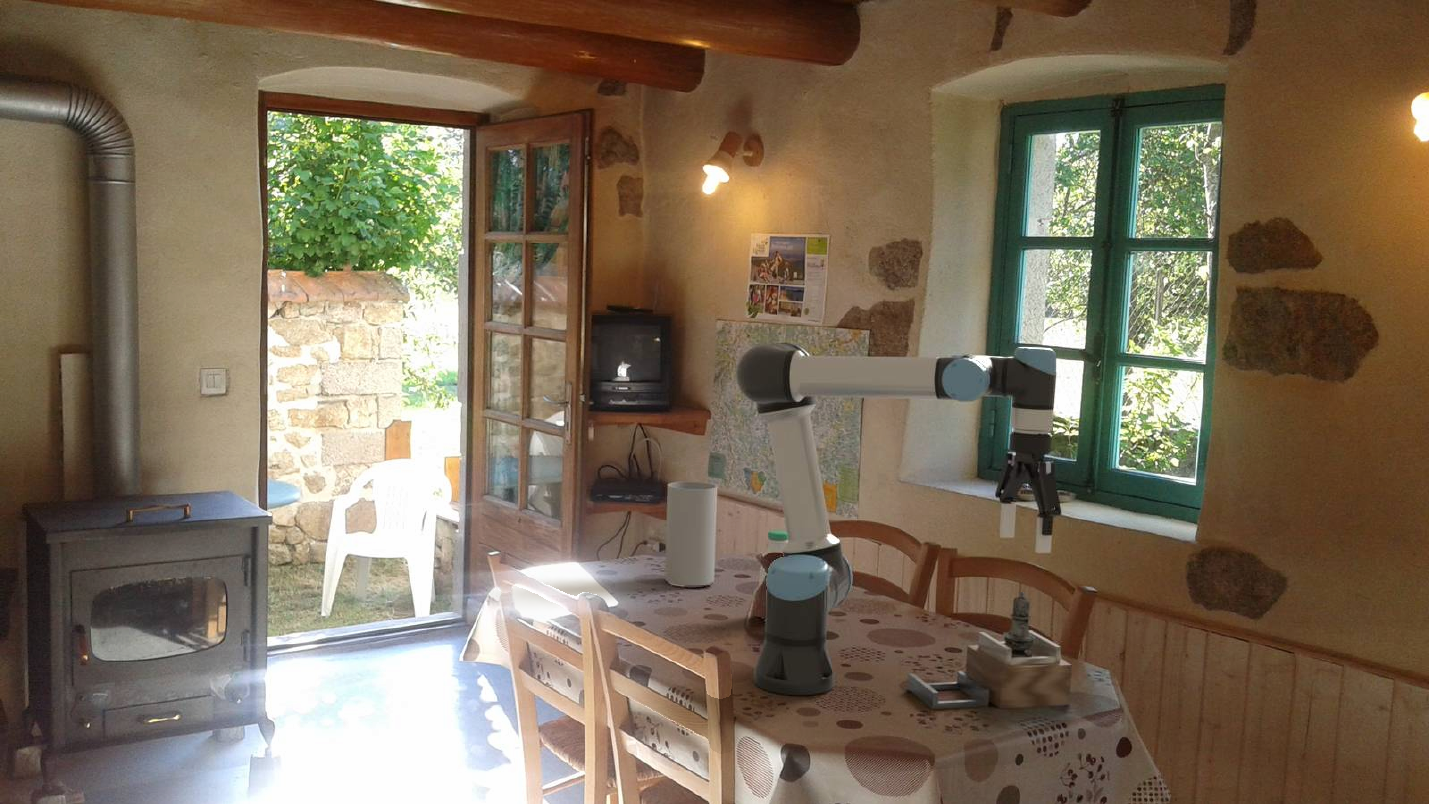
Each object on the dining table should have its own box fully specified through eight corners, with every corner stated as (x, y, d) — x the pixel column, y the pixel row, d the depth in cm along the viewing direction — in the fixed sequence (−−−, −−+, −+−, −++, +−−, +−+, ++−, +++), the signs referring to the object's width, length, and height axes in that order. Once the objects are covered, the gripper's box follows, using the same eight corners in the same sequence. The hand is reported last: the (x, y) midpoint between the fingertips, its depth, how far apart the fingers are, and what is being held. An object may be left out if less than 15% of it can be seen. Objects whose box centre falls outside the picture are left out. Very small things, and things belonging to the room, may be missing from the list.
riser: (999, 708, 216) (1003, 651, 215) (965, 683, 229) (968, 630, 228) (1069, 704, 219) (1072, 648, 218) (1031, 680, 233) (1034, 627, 232)
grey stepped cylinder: (1034, 660, 220) (1039, 597, 219) (1002, 657, 221) (1006, 594, 220) (1033, 652, 226) (1037, 589, 225) (1001, 648, 227) (1005, 586, 226)
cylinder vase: (723, 582, 305) (726, 485, 303) (696, 591, 294) (700, 491, 292) (682, 574, 311) (685, 480, 309) (654, 583, 301) (658, 485, 299)
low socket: (932, 709, 214) (933, 692, 214) (907, 689, 225) (908, 673, 224) (988, 706, 217) (989, 690, 217) (961, 686, 227) (962, 671, 227)
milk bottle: (763, 623, 267) (767, 535, 265) (753, 614, 275) (756, 528, 273) (796, 622, 269) (800, 534, 268) (785, 613, 277) (788, 528, 275)
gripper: (1086, 439, 209) (1078, 559, 211) (1016, 423, 233) (1010, 531, 235) (1047, 439, 207) (1040, 559, 209) (981, 423, 231) (975, 531, 233)
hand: (1024, 544), depth 222 cm, fingers open, 13 cm apart
